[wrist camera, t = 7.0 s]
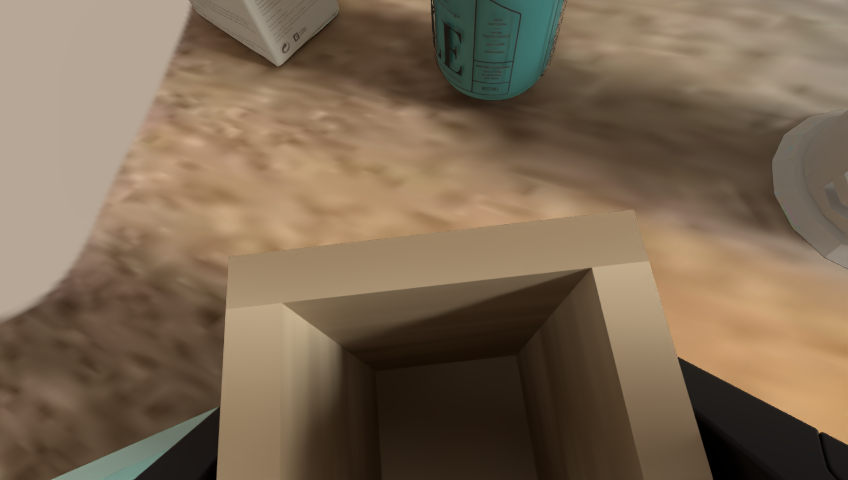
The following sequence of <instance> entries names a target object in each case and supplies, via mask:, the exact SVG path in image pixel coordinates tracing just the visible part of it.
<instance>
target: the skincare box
mask: <svg viewBox="0 0 848 480" xmlns="http://www.w3.org/2000/svg"><path fill="white" fill-rule="evenodd" d="M189 1H190V2H191V4H192V5H193V7H194V8H195V10H196V12H197V13H198V14H199V15H201V16H202V17H204V18H205V19H207V20H208V21H210V22H211V23H213V24H214V25H216V26H217V27H219V28H220V29H221V30H223V31H224V32H226V33H227V34H229V35H230V36H232V37H233V38H235V39H237V40H238V41H240V42H241V43H243V44H244V45H246V46H247V47H249V48H250V49H252V50H253V51H255V52H257V53H258V54H260V55H262V56H264V57H265V58H266V59H268V60H269V61H271V62H272V63H273V64H275V65H276V66H280V65H282V64H283V63H284V62H285V61H286V60H288V59H289V58H290V57H291V56H292V55H293V53H294V52H295V51H296V50H298V49H299V48H300V47H301V46H302V45H303V44H304V43H306V42H307V41H308V40H309V39H310V38H311V37H313V36H314V35H315V34H316V33H318V32H319V31H320V30H321V29H322V28H323V27H324V26H325V25H326V24H328V23H329V22H330V21H331V20H332V19H333V18H334V17H335V16H336V15H337V14H338V13H339V5H338V2H337V0H189Z"/></svg>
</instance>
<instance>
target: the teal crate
mask: <svg viewBox="0 0 848 480" xmlns="http://www.w3.org/2000/svg"><path fill="white" fill-rule="evenodd" d="M217 408H218V407H217ZM217 408H214V409H212V410H210V411H208V412H205V413H203V414H201V415H198V416H196V417H194V418H191V419H189V420H187V421H185V422H182V423H180V424H178V425H175V426H173V427H171V428H169V429H166V430H164V431H162V432H159V433H157V434H155V435H152V436H150V437H148V438H146V439H143V440H141V441H139V442H136V443H134V444H132V445H130V446H127V447H125V448H123V449H120V450H118V451H116V452H113V453H111V454H109V455H107V456H104V457H102V458H100V459H97V460H95V461H93V462H91V463H88V464H86V465H84V466H81V467H79V468H77V469H74V470H72V471H70V472H68V473H65V474H63V475H61V476H58V477H56V478H54V479H52V480H134V479H135V478H136V477H137V476H138V475H139V474H141V473H142V472H143V471H144V470H145V469H147V468H148V467H149V466H150V465H151V464H152V463H154V462H155V461H156V460H157V459H158V458H159V457H161V456H162V455H163V454H164V453H165V452H166V451H168V450H169V449H170V448H171V447H172V446H174V445H175V444H176V443H177V442H178V441H179V440H181V439H182V438H183V437H184V436H185V435H186V434H188V433H189V432H190V431H191V430H192V429H193V428H195V427H196V426H197V425H198V424H199V423H200V422H202V421H203V420H204V419H205V418H206V417H208V416H209V415H210V414H211V413H212V412H213V411H215V410H216V409H217Z"/></svg>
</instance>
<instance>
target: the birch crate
mask: <svg viewBox="0 0 848 480" xmlns="http://www.w3.org/2000/svg"><path fill="white" fill-rule="evenodd" d="M217 480H713V477H712V473H711V470H710V467H709V463H708V460H707V456H706V453H705V450H704V446H703V443H702V439H701V436H700V433H699V429H698V426H697V422H696V419H695V416H694V412H693V409H692V405H691V402H690V399H689V395H688V392H687V388H686V385H685V382H684V378H683V375H682V371H681V368H680V365H679V361H678V358H677V354H676V351H675V348H674V344H673V341H672V337H671V334H670V331H669V327H668V324H667V320H666V317H665V314H664V310H663V307H662V303H661V300H660V297H659V293H658V290H657V286H656V283H655V280H654V276H653V273H652V269H651V266H650V263H649V259H648V256H647V252H646V249H645V246H644V242H643V239H642V235H641V232H640V228H639V225H638V222H637V218H636V215H635V211H634V210H626V211H617V212H608V213H600V214H591V215H583V216H574V217H565V218H557V219H548V220H540V221H531V222H522V223H514V224H505V225H497V226H488V227H479V228H471V229H462V230H454V231H445V232H436V233H428V234H419V235H411V236H402V237H393V238H385V239H376V240H368V241H359V242H350V243H342V244H333V245H325V246H316V247H307V248H299V249H290V250H281V251H273V252H264V253H256V254H247V255H238V256H230V257H229V261H228V279H227V297H226V316H225V334H224V352H223V371H222V389H221V407H220V426H219V444H218V462H217Z"/></svg>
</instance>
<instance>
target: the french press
mask: <svg viewBox="0 0 848 480" xmlns="http://www.w3.org/2000/svg"><path fill="white" fill-rule="evenodd" d="M772 172H773V185H774V195H775V197H776V198H777V200H778V202H779V204H780V206H781V208H782V209H783V211H784V213H785V215H786V217H787V219H788V221H789V222H790V224H791V226H792V228H793V229H794V230H795V231H796V232H797V233H799V234H800V235H801V236H802V237H803V238H804V239H805V240H806V241H807V242H808V243H809V244H811V245H812V246H813V247H814V248H815V249H816V250H817V251H818V252H819V253H820V254H821V255H823V256H824V257H825V258H827V259H829V260H831V261H833V262H835V263H837V264H839V265H841V266H843V267H845V268H847V269H848V110H838V111H834V112H829V113H825V114H820V115H815V116H811V117H808V118H807V119H805V120H804V121H803V122H801V123H800V124H798V125H797V126H796V127H794V128H793V129H791V130H790V131H789V132H787V133H786V134H785V135H784V136H783V138H782V140H781V143H780V145H779V147H778V149H777V151H776V153H775V156H774V158H773V160H772Z"/></svg>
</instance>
